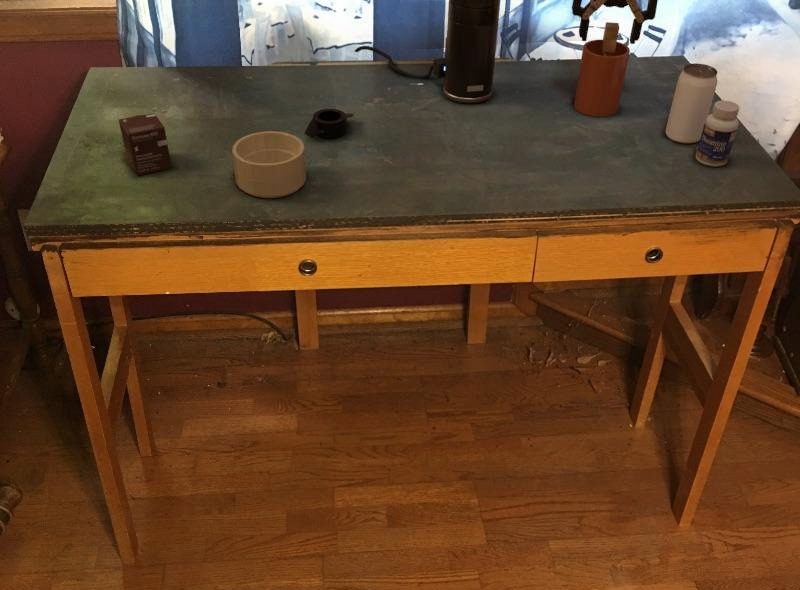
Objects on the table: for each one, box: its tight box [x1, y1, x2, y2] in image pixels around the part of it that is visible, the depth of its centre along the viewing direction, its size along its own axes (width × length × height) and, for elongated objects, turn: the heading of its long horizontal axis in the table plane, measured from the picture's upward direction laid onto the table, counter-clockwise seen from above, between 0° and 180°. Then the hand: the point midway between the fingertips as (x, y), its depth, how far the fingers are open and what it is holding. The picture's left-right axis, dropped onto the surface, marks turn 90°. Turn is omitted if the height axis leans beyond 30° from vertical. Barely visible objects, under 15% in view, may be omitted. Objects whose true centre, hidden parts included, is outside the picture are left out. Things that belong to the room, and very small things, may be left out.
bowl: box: [231, 130, 307, 199], centre depth 137 cm, size 11×11×6 cm
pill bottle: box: [695, 100, 740, 168], centre depth 144 cm, size 5×5×10 cm
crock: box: [573, 39, 631, 117], centre depth 158 cm, size 8×8×11 cm
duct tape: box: [304, 108, 355, 140], centre depth 151 cm, size 8×10×3 cm
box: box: [118, 112, 172, 176], centre depth 140 cm, size 6×6×7 cm
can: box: [664, 63, 718, 145], centre depth 149 cm, size 6×6×12 cm
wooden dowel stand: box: [602, 21, 620, 56], centre depth 155 cm, size 4×4×15 cm
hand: (607, 40), depth 153 cm, fingers open, 8 cm apart
